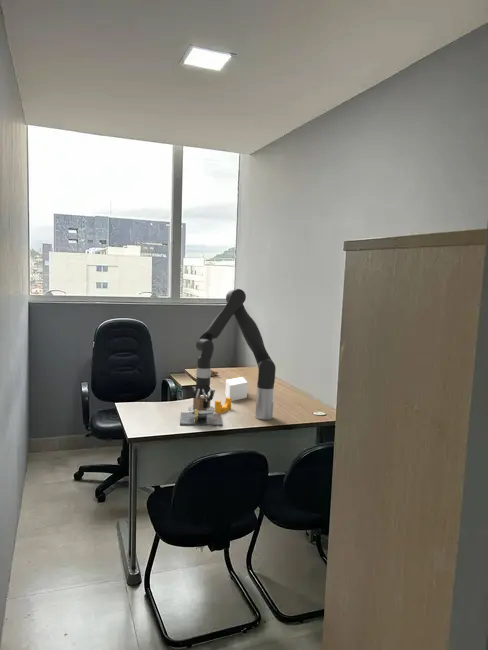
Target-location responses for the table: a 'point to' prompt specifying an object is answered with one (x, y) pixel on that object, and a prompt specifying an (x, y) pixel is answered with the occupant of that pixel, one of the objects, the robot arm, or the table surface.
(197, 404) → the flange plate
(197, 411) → the dowel pin
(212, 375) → the tan irregular piece
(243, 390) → the white block
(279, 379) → the table surface
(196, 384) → the robot arm
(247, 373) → the table surface
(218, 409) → the pipe clamp
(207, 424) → the post base
